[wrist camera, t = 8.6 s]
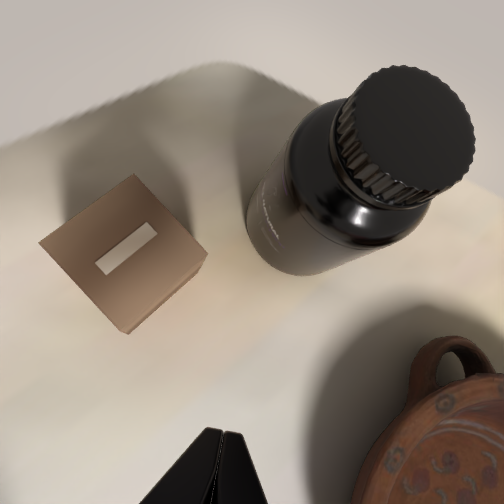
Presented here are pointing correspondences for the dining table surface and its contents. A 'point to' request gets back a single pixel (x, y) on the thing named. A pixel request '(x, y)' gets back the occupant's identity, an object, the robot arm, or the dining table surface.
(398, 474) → the dish
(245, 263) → the dining table surface
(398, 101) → the supplement bottle
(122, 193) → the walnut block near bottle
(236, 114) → the dining table surface
